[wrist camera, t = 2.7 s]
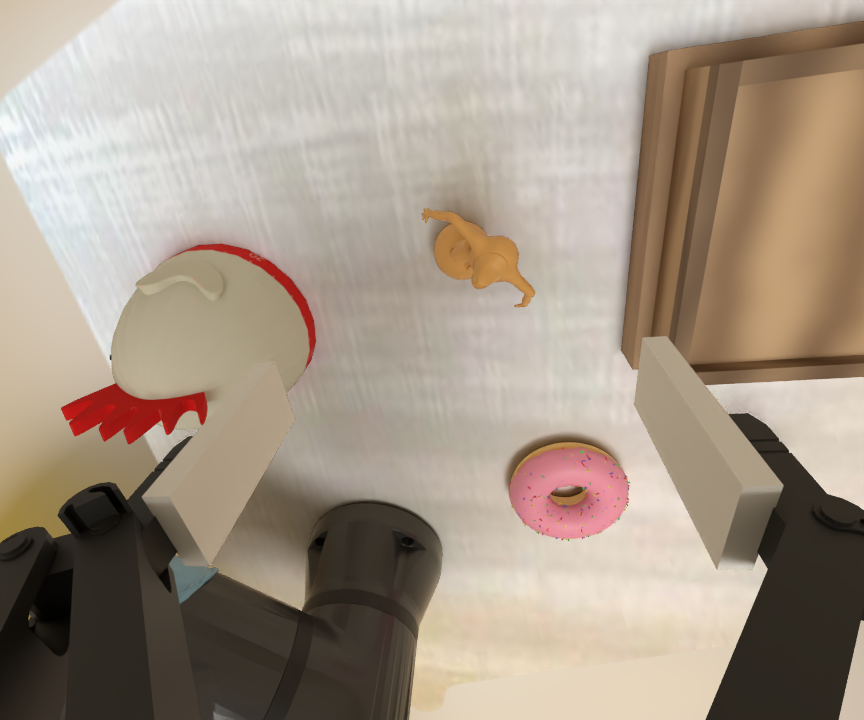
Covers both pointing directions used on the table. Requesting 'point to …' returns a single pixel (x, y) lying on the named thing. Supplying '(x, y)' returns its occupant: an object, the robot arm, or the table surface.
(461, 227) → the figurine
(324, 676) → the robot arm
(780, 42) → the stepped wooden tray
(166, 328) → the kitchen timer
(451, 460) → the table surface
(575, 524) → the doughnut
